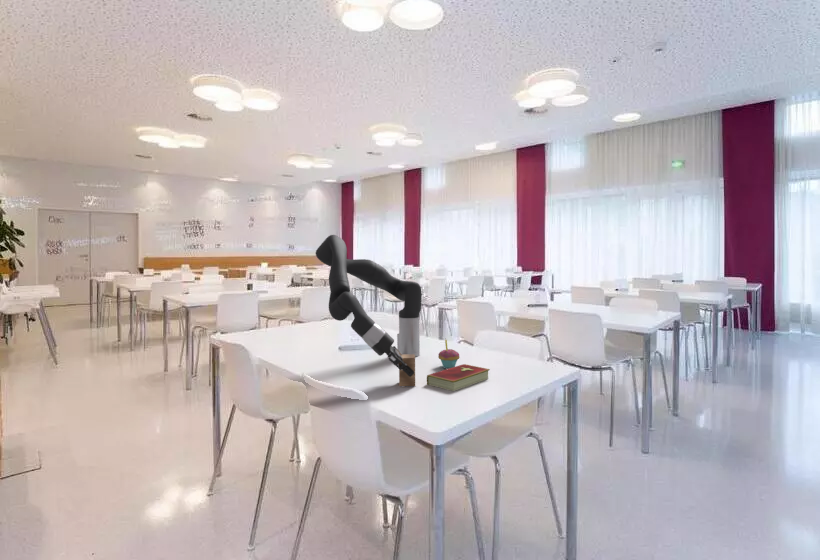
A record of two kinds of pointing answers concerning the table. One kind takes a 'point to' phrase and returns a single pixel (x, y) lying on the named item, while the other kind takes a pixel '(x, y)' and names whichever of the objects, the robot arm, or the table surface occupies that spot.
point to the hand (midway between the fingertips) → (412, 372)
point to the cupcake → (448, 357)
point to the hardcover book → (457, 377)
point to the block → (403, 377)
